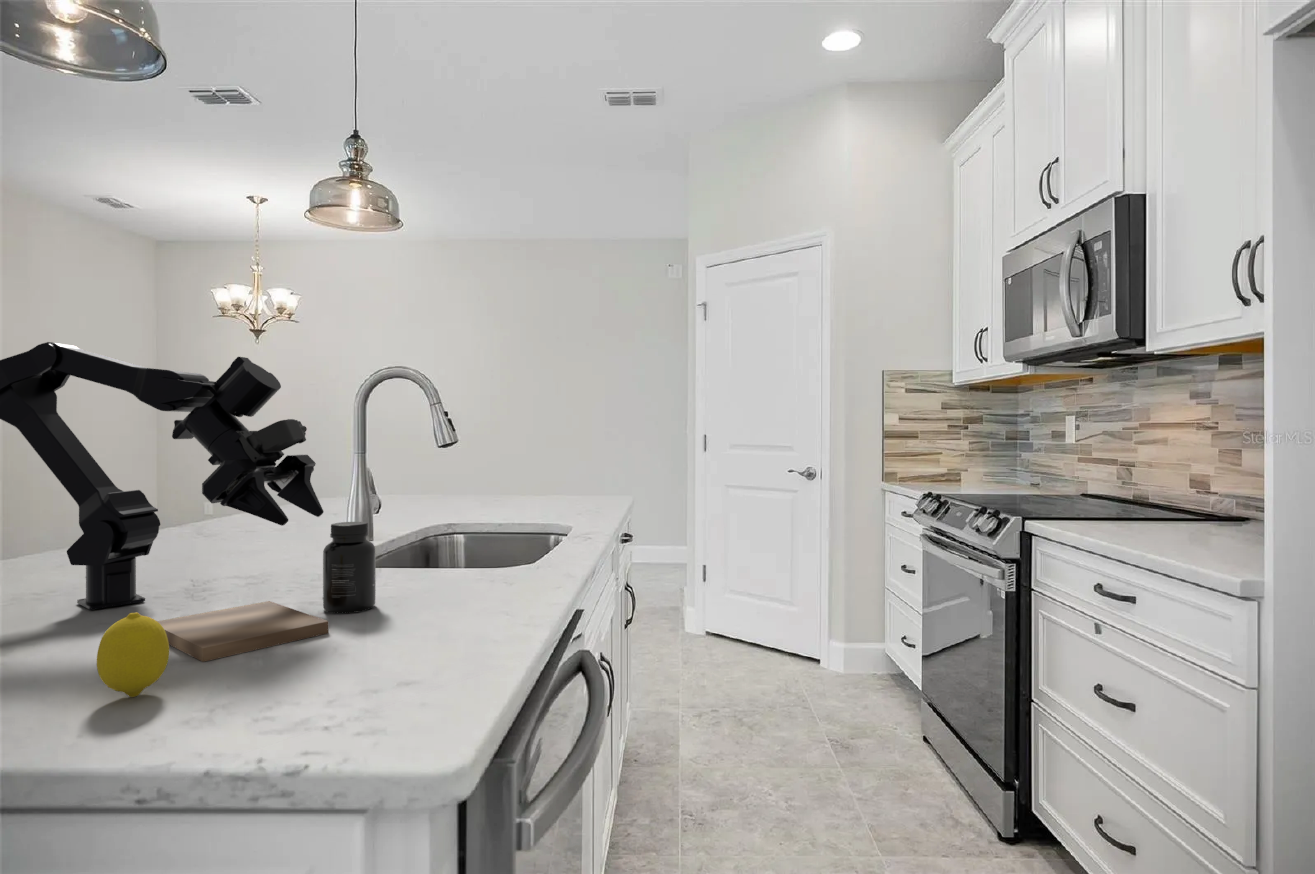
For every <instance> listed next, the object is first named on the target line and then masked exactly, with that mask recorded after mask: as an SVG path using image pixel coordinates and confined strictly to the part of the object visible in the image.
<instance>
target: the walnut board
mask: <svg viewBox="0 0 1315 874" xmlns="http://www.w3.org/2000/svg"><path fill="white" fill-rule="evenodd" d="M156 621H157V622H159V623H160V624H161V626H162V627H163V628H164V630H165V632H166V635H167V638H168V642H169V646H171V647H173V648H175V649H177V650H178V651H181V652H183V653H185V654H186V655H188V656H190V657H192V658H194V659H196V660H198V661H200V662H202V663H204V662H205V663H206V662H209V661H214V660H218V659H220V658H221V659H222V658H225V657H231V656H234V655H240V654H245V653H248V652H252V651H256V650H261V649H265V648H270V647H274V646H278V645H282V644H286V643H287V644H288V643H291V642H297V641H299V640H300V641H301V640H304V639H309V638H313V637H317V636H318V637H319V636H321V635H322V636H323V635H326V634H327V635H328V634H329V629H330V628H329V627H330V625H329V620H326V619H325V618H324V619H323V618H321V617H318V616H314V615H312V614H309V613H306V612H303V611H300V610H298V609H295V608H294V609H293V608H291V607H288V606H286V605H283V604H279V603H276V602H273V601H270V600H268V601H267V600H266V601H263V602H257V603H250V604H245V605H240V606H234V607H229V608H223V609H219V610H212V611H211V610H210V611H207V612H201V613H196V614H190V615H189V614H188V615H184V616H179V617H173V618H168V619H162V620H156Z"/></svg>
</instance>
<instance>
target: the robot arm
mask: <svg viewBox="0 0 1315 874" xmlns="http://www.w3.org/2000/svg"><path fill="white" fill-rule="evenodd" d="M71 376H72V377H75V378H79V379H83V380H85V381H89V382H94V383H97V384H99V385H104V386H108V387H111V388H114V389H118V390H121V391H125V392H127V393H129V394H131V395H133V396H134V397H135V398H136V399H137V400H138V401H140V402H142V403H143V404H146V405H148V406H150V407H152V408H154V409H156V410H159V411H162V412H171V413H172V412H174V413H175V412H177V413H179V412H180V413H181V412H182V413H183V412H184V413H188V414H187V415H186V417H184V419H175V420H174V421H173V423H174V428H173V430H172V435H171V437H172V439H173V440H191V439H194V438H195V440H196V441H197V442H198V443H199V444H201V446H202V447H203V448H204V449H205V450H206V451H207V452H208V454H210V455H211V456H210V457H209V458H208V459H207V461H208V462H209V463H210V464H211V465H212V466H217V465H218V466H217V468H216V469H214V471H213V472H212V473H211V474H210V475H209V476H208V477H207V478H205V480H204V481H203V482H202V484H201V494H202V495H203V496H204V497H205V498H206V499H207V500H208V502H210V503H211V504H218V503H219V504H220V505H221V506H222V507H229V508H232V509H235V510H238V511H240V512H244V513H247V514H250V515H253V516H255V517H257V518H260V519H263V520H266V521H269V522H270V523H273V524H277V525H279V526H285V525H286V524H287V523H288V522H289V518H288V516H287V515H286V513H285V512H284V510H283V509H282V508H281V507H280V505H279V504H278V502H276V500H275V499H274V498H273V497H272V495H271V494H270V493H269V491H268V490H267V489H266V486H265V484H266V485H267V486H268V487H269V488H270V489H271V491H274V492H276V493H277V494H276V496H278V497H279V498H281V499H283V500H284V501H286V502H288V503H290V504H292V505H294V506H296V507H298V508H299V509H301V510H303V511H305V512H307V513H308V514H311V515H312V516H315V517H317V518H320V517H321V516H322V515H323V514H324V509H323V507H322V505H321V503H320V501H319V498H318V496H317V494H316V492H315V490H314V488H313V485H312V482H311V479H312V478H311V477H312V473H313V472H314V471H315V468H314V467H315V466H316V465H317V464H316V462H315V461H314V460H313V458H311V456H309V455H308V454H290V455H288V454H287V455H286V456H285V457H284V455H285V453H284V452H283V451H285V450H287V449H289V448H291V447H293V446H295V445H297V444H302V443H304V442H306V441H307V438H306V436H307V434H306V432H307V430H308V428H307V427H306V425H303V424H302V422H301V421H300V420H298V419H293V418H287V419H282V420H278V421H275V422H273V423H271V424H269V425H267V426H265V427H263V428H261V429H259V430H249V429H248V428H247V426H245V425H244V424H243V423H242V422H241V421H240V420H239V419H238V418H242V417H243V416H245V417H247V418H249V417H254V416H255V415H256V414H257V413H258V412H259V411H260V410H261V409H262V408H263V407H264V406H265V405H266V404H267V403H268V402H269V400H271V398H273V396H275V394H276V393H278V392H279V390H280V389H281V388H282V385H281V383H280V381H279V379H278V378H277V377H276V376H275V375H274V374H273V373H271V372H268V371H267V370H266V369H265V368H263V367H262V366H260V365H258V364H256V363H254V362H252V361H251V360H250V359H249V357H243V356H237V357H236V358H235V359H233V361H232V362H231V363H230V366H229V367H228V368H227V369H226V371H224V373H223V374H221V376H219V378H218V379H217V380H216V381H212V380H209V378H208V377H207V376H205V375H204V374H201V373H198V372H189V371H179V370H172V369H160V368H159V369H158V368H150V367H146V366H143V365H140V364H139V365H138V364H135V363H132V362H128V361H124V360H121V359H117V358H113V357H110V356H108V355H107V356H106V355H103V354H100V353H97V352H93V351H90V350H86V349H82V348H80V347H79V346H76V345H73V344H67V343H59V342H53V341H51V342H50V341H47V342H43V343H40V344H37V345H36V346H34V347H33V348H31V349H29V350H27V351H23V352H21V353H18V354H14V355H12V356H8V357H6V358H2V359H0V420H1V421H3V422H5V423H7V424H9V425H10V426H12V427H14V428H16V429H17V430H18V431H19V432H20V434H21V435H22V437H23V438H24V439H25V440H26V441H27V442H28V443H29V445H30V446H31V447H32V448H33V450H34V451H35V453H36V454H37V455H38V456H39V458H40V459H41V460H42V462H43V463H44V464H45V465H46V466H47V468H48V469H49V470H50V472H52V474H53V475H54V477H55V478H56V479H57V480H58V482H59V483H60V484H61V485H62V486H63V487H64V490H66V491H67V493H68V494H69V496H70V497H71V498H72V499H73V500H74V501H75V503H76V505H77V506H78V525H79V527H80V530H81V531H82V534H81V536H80V537H79V538H78V539H76V540H75V541H74V543H73V544H72V545H71V546H70V547H69V548H68V549H67V550H66V555H67V557H68V560H69V563H70V565H71V566H85V598H80V599H77V601H76V604H78V605H80V606H82V607H84V608H86V609H88V610H89V611H90V610H92V611H93V610H100V609H106V608H111V607H113V608H114V607H116V606H117V607H118V606H124V605H131V604H137V603H143V602H145V601H146V598H145V597H144V596H142V595H140V594H137V557H141V556H144V557H146V556H148V555H149V554H150V552H151V548H152V547H153V544H154V541H155V540H156V539H157V537H158V534H159V532H160V531H159V530H160V526H161V521H160V518H159V516H158V515H157V514H156V512H159V509H158V508H156V507H155V506H153V505H152V504H151V503H150V502H149V500H148V498H147V497H146V494H145V493H144V492H143V491H142V490H141V489H134V490H133V489H132V490H126V491H124V490H122V489H120V488H119V487H117V485H115V484H114V482H113V481H112V480H111V478H109V476H108V475H107V473H106V472H105V471H104V469H103V468H102V467H101V466H100V465H99V463H98V462H97V461H96V460H95V458H94V457H93V456H92V454H91V453H90V452H89V451H88V449H87V448H86V447H85V446H84V445H83V443H82V442H81V441H80V440H79V438H78V437H77V436H76V435H75V433H74V432H73V431H72V429H71V428H70V427H69V426H68V425H67V423H66V422H65V420H63V419H62V417H61V416H60V415H59V413H58V410H57V409H58V407H57V406H58V396H57V393H56V391H58V390H59V389H61V388H63V387H64V386H65V385H66V384H67V382H68V380H69V379H70V377H71ZM282 457H284V458H283V459H282ZM281 459H282V460H281ZM279 460H281V461H280V462H279V463H278V464H277V463H276V462H277V461H279Z"/></svg>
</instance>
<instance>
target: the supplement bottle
mask: <svg viewBox="0 0 1315 874" xmlns="http://www.w3.org/2000/svg"><path fill="white" fill-rule="evenodd" d="M368 536H369V524H368V522H366V521H344V522H341V521H340V522H336V523H335V522H334V523H331V524H330V533H329V537H330V538H331V540H332V541H331V542H328V544H327V545H325V547H324V548H323V551H322V605H323V606H322V607H323V609H324V610H323V611H325V612H327V613H329V614H352V613H359V612H364V611H367V610H371V609H372V608H374V606H375V605H376V591H377V590H376V589H377V587H376V581H377V580H376V579H377V578H376V576H377V575H376V546H375V545H374V543H373V542H372V541H370V540H368V539H367V537H368Z"/></svg>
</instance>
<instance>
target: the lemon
mask: <svg viewBox="0 0 1315 874" xmlns="http://www.w3.org/2000/svg"><path fill="white" fill-rule="evenodd" d="M157 621H158V620H155V619H154V618H151V617H150V616H147V615H142V614H140V613H139V612H137V611H136V612H130V613H128V615H127V616H125V617H122V618H121V619H119V620H118V621H115V623H113V624H111V625H110V626H109V627H108V628H107V629H106V631H104V633H103V635H102V637H101V639H100V641H99V645H98V648H97V653H96V668H97V672H98V676H99V678H100V679H101V681H102V682H103V684H104V685H106V686H107V688H110V689H111V690H113V691H115V692H120V693H124V694H125V695H126V696H128V697H130V698H135V697H137V696H138V697H139V695H140V694H141V693H142V692H143V691H144V690H145V689H147V688H148V687H150V686H152V685H154V683H156V682H157V681H158V680H159V679H160V678H161V676H162V675H163V674H164V672H165V670H166V668H167V665H168V662H169V658H170V645H169V642H168V638H167V635H166V632H165V630H164V628H163V627H162V626H161V624H160V623H159V622H157Z"/></svg>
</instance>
